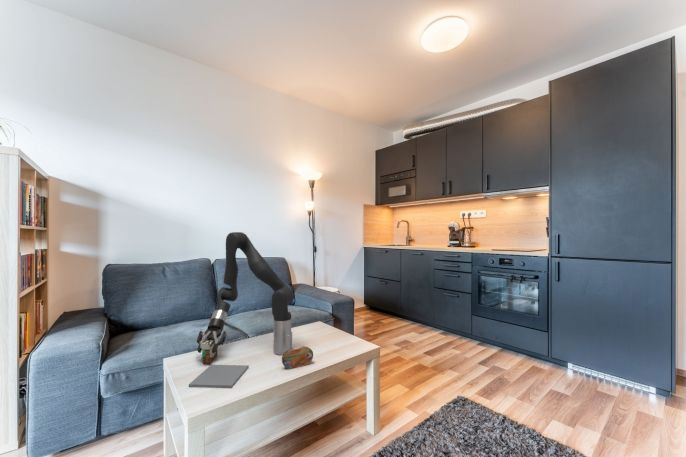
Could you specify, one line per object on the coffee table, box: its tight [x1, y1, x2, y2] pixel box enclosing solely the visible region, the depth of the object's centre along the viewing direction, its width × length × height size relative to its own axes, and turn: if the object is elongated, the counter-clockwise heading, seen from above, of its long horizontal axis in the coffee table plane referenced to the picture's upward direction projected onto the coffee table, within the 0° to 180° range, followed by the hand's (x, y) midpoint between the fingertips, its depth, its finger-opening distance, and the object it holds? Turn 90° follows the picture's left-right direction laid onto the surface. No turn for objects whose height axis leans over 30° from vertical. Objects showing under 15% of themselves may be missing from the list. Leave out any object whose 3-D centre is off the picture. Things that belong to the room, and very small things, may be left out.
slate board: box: [188, 364, 249, 389], centre depth 126 cm, size 18×18×1 cm
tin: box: [281, 345, 314, 370], centre depth 137 cm, size 15×3×8 cm, turn 117°
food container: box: [200, 338, 219, 366], centre depth 142 cm, size 12×6×10 cm, turn 5°
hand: (206, 352), depth 140 cm, fingers closed on food container, 6 cm apart
